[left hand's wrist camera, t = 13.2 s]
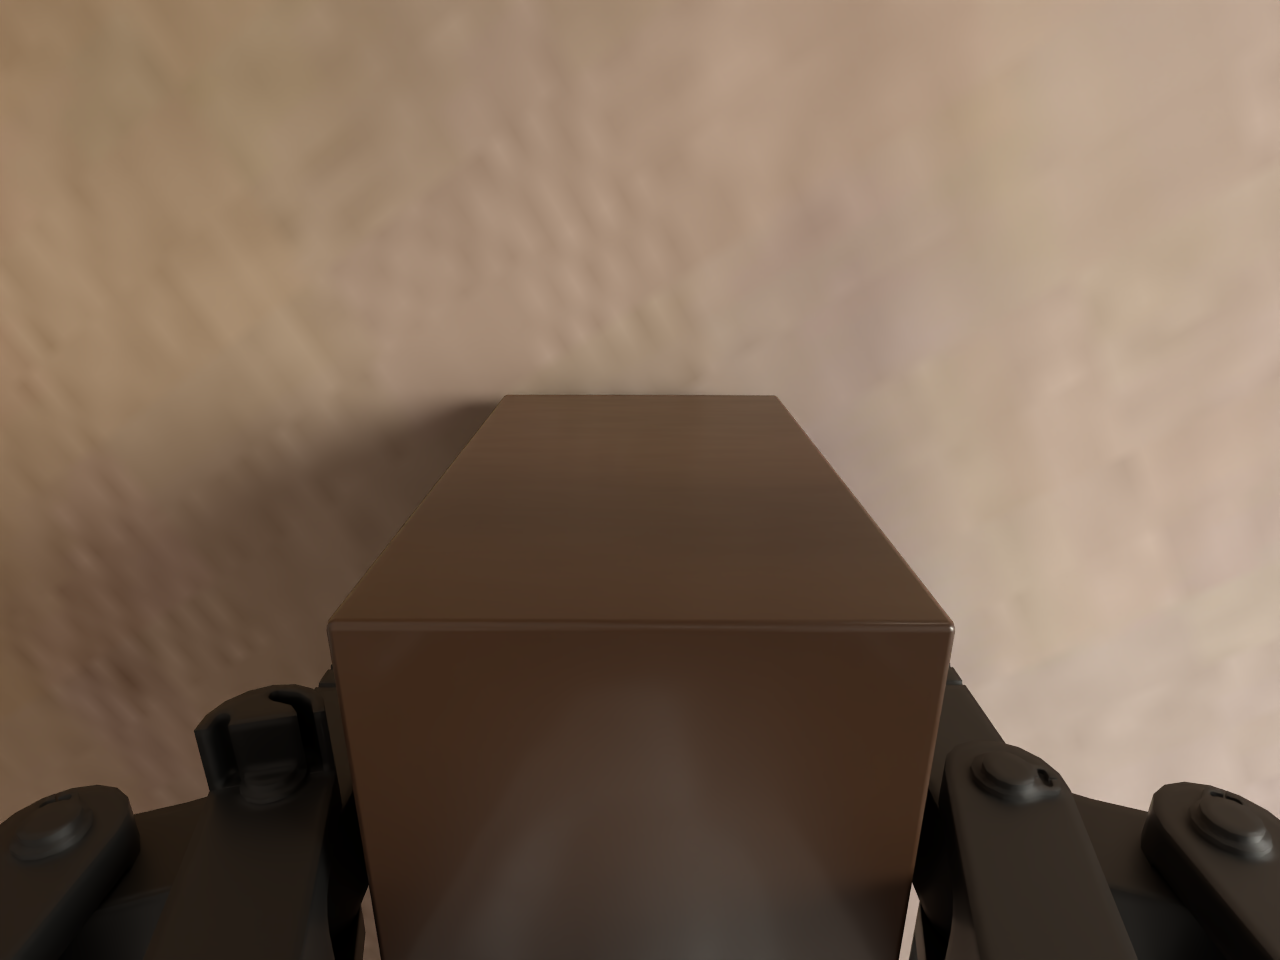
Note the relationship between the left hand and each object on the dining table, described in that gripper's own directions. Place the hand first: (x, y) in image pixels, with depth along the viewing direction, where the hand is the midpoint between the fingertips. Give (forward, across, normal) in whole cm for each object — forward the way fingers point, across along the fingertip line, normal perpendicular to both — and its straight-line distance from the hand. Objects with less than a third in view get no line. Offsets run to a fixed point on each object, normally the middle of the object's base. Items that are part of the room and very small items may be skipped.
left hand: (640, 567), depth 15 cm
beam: (0, 0, -12) cm, 12 cm away
